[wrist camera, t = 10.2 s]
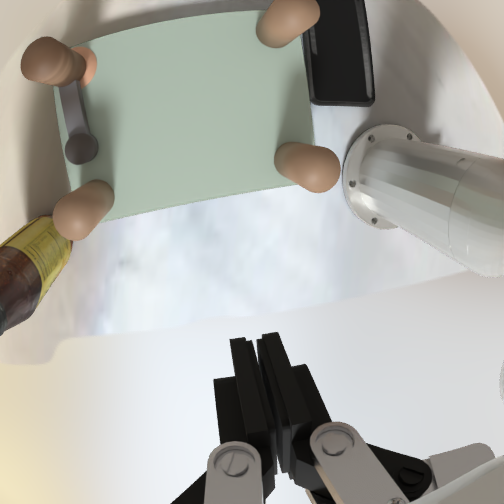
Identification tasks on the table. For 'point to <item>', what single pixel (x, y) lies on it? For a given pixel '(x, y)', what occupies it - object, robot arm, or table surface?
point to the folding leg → (63, 91)
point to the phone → (339, 55)
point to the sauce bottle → (29, 268)
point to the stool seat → (194, 115)
